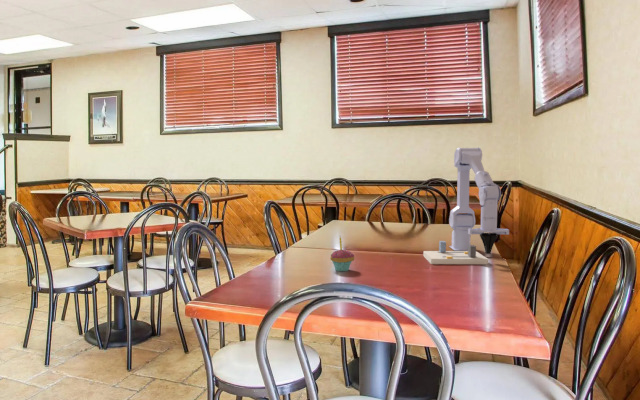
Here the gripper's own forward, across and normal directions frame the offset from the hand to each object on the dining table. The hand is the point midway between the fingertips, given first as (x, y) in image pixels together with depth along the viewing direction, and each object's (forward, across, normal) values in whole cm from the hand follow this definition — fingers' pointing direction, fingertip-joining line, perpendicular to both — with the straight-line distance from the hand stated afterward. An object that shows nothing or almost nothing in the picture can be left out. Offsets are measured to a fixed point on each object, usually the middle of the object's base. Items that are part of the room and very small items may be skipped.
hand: (487, 253), depth 174 cm
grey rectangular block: (+1, -15, +9) cm, 18 cm away
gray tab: (+1, -6, 0) cm, 6 cm away
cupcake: (+4, -55, -13) cm, 57 cm away
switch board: (+3, -12, +4) cm, 13 cm away
